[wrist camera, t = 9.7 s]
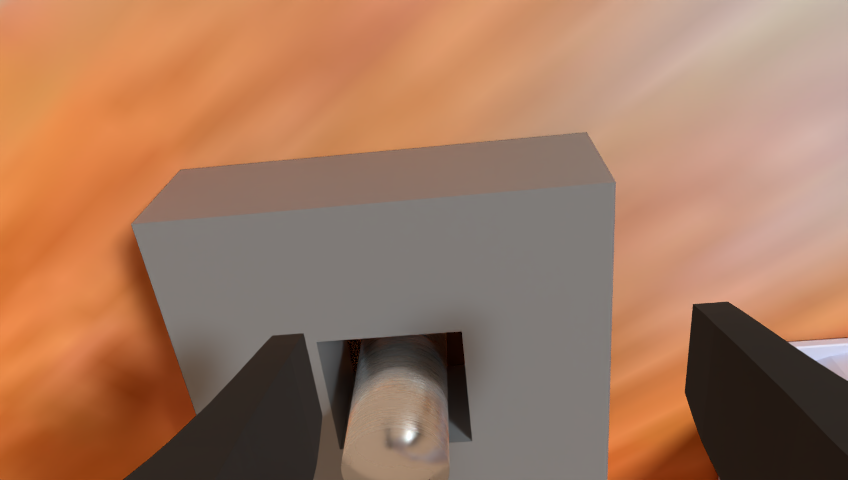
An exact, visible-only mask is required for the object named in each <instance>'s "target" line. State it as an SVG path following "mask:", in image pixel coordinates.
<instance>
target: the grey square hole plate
mask: <svg viewBox="0 0 848 480" xmlns="http://www.w3.org/2000/svg"><path fill="white" fill-rule="evenodd" d="M615 188H616V182H615V180H614V178H613V177H612V175H611V173H610V171H609V170H608V168H607V166H606V165H605V163H604V161H603V159H602V158H601V156H600V154H599V153H598V151H597V149H596V147H595V146H594V144H593V142H592V141H591V139H590V137H589V135H588V134H587V132H586V133H575V134H564V135H553V136H543V137H532V138H521V139H510V140H499V141H488V142H477V143H467V144H456V145H445V146H434V147H423V148H412V149H402V150H391V151H380V152H369V153H358V154H347V155H336V156H326V157H315V158H304V159H293V160H282V161H271V162H260V163H250V164H239V165H228V166H217V167H206V168H195V169H184V170H180V171H179V172H178V173H177V174H176V175H175V176H174V177H173V179H172V180H171V181H170V182H169V183H168V184H167V185H166V186H165V187H164V189H163V190H162V191H161V192H160V193H159V194H158V195H157V196H156V197H155V198H154V200H153V201H152V202H151V203H150V204H149V205H148V206H147V207H146V208H145V210H144V211H143V212H142V213H141V214H140V215H139V216H138V217H137V218H136V219H135V221H134V222H133V223H132V224H131V225H132V228H133V231H134V234H135V237H136V240H137V243H138V246H139V249H140V252H141V255H142V257H143V260H144V263H145V266H146V269H147V272H148V275H149V278H150V281H151V284H152V287H153V290H154V293H155V296H156V298H157V301H158V304H159V307H160V310H161V313H162V316H163V319H164V322H165V325H166V328H167V331H168V334H169V337H170V339H171V342H172V345H173V348H174V351H175V354H176V357H177V360H178V363H179V366H180V369H181V372H182V375H183V378H184V380H185V383H186V386H187V389H188V392H189V395H190V398H191V401H192V404H193V407H194V410H195V413H196V415H197V414H198V413H200V412H201V411H202V410H203V409H204V408H205V407H206V406H207V405H208V404H209V403H210V402H211V401H212V400H213V399H214V398H215V397H216V396H217V394H218V393H219V392H220V391H221V390H222V389H223V388H224V387H225V386H226V385H227V384H228V383H229V382H230V381H231V380H232V379H233V378H234V376H235V375H236V374H237V373H238V372H239V371H240V370H241V369H242V368H243V367H244V366H245V364H246V363H247V362H248V361H249V360H250V359H251V358H252V357H253V356H254V355H255V353H256V352H257V351H258V350H259V349H260V348H261V347H262V346H263V345H264V344H265V343H266V341H267V340H268V339H269V338H270V337H271V336H273V335H286V334H299V333H304V337H305V341H306V346H307V350H308V354H309V359H310V363H311V367H312V372H313V376H314V381H315V385H316V389H317V394H318V398H319V402H320V407H321V411H322V416H323V417H322V426H321V435H320V444H319V452H318V459H317V466H316V470H315V474H314V478H313V480H344V479H343V476H342V472H341V463H342V456H343V450H344V444H345V438H346V432H347V426H348V420H349V414H350V408H351V401H352V395H353V389H354V383H355V377H356V372H353V367H352V361H351V356H350V351H349V346H348V341H347V340H350V339H364V338H378V337H391V336H405V335H419V334H432V333H446V332H460V331H462V339H463V349H464V359H465V365H454V366H447V385H448V426H449V478H448V480H607V472H608V437H609V401H610V366H611V330H612V295H613V259H614V224H615Z"/></svg>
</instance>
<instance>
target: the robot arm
mask: <svg viewBox="0 0 848 480" xmlns="http://www.w3.org/2000/svg"><path fill="white" fill-rule="evenodd" d="M685 394H686V397H687V400H688V404H689V407H690V410H691V413H692V416H693V419H694V422H695V424H696V427H697V430H698V433H699V436H700V438H701V441H702V443H703V445H704V448H705V450H706V452H707V454H708V456H709V458H710V460H711V462H712V464H713V466H714V468H715V470H716V472H717V474H718V476H719V478H718V480H848V338H839V339H825V340H811V341H796V342H787V341H785V340H784V339H782V338H781V337H779V336H778V335H777V334H775V333H774V332H772V331H771V330H769V329H768V328H766V327H765V326H763V325H762V324H761V323H759V322H758V321H756V320H755V319H753V318H752V317H750V316H749V315H747V314H746V313H744V312H743V311H741V310H740V309H738V308H737V307H735V306H734V305H732V304H731V303H729V302H717V303H704V304H693V311H692V322H691V332H690V343H689V353H688V364H687V375H686V385H685ZM322 417H323V416H322V411H321V407H320V402H319V398H318V394H317V389H316V385H315V381H314V376H313V372H312V367H311V363H310V359H309V354H308V350H307V346H306V341H305V337H304V333H299V334H286V335H273V336H271V337H270V338H269V339H268V340H267V341H266V343H265V344H264V345H263V346H262V347H261V348H260V349H259V350H258V351H257V352H256V353H255V355H254V356H253V357H252V358H251V359H250V360H249V361H248V362H247V363H246V364H245V366H244V367H243V368H242V369H241V370H240V371H239V372H238V373H237V374H236V375H235V376H234V378H233V379H232V380H231V381H230V382H229V383H228V384H227V385H226V386H225V387H224V388H223V389H222V390H221V391H220V392H219V393H218V394H217V396H216V397H215V398H214V399H213V400H212V401H211V402H210V403H209V404H208V405H207V406H206V407H205V408H204V409H203V410H202V411H201V412H200V413H198V414H197V415H196V416H195V417H194V418H193V419H192V420H191V421H190V422H189V423H188V424H187V425H186V426H185V427H184V428H183V429H182V430H181V431H180V432H179V433H178V434H177V435H176V436H175V437H173V438H172V439H171V440H170V441H169V442H168V443H167V444H166V445H165V446H163V447H162V448H161V449H160V450H159V451H158V452H157V453H155V454H154V455H153V456H152V457H151V458H149V459H148V460H147V461H146V462H145V463H143V464H142V465H141V466H140V467H138V468H137V469H136V470H135V471H133V472H132V473H131V474H130V475H128V476H127V477H126V478H125V479H123V480H313V478H314V474H315V470H316V466H317V459H318V452H319V444H320V435H321V426H322Z"/></svg>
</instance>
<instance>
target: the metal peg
mask: <svg viewBox="0 0 848 480" xmlns="http://www.w3.org/2000/svg"><path fill="white" fill-rule="evenodd" d="M341 472H342V476H343V479H344V480H448V478H449V426H448V385H447V343H446V333H432V334H419V335H405V336H391V337H378V338H364V339H362V340H361V346H360V353H359V359H358V365H357V371H356V377H355V383H354V389H353V395H352V401H351V408H350V414H349V420H348V426H347V432H346V438H345V444H344V450H343V456H342V463H341Z"/></svg>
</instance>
